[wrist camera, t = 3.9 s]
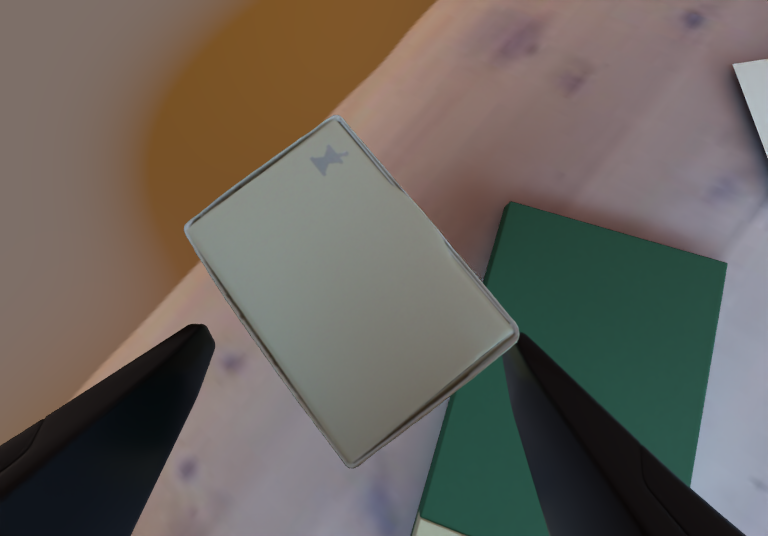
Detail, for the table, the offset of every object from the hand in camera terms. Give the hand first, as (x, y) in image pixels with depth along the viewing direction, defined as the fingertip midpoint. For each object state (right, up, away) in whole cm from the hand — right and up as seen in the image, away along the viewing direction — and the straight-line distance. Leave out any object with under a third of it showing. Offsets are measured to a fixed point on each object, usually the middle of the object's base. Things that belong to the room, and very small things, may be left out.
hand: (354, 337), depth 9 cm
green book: (+11, -5, +8) cm, 14 cm away
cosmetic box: (+1, 0, +9) cm, 9 cm away
